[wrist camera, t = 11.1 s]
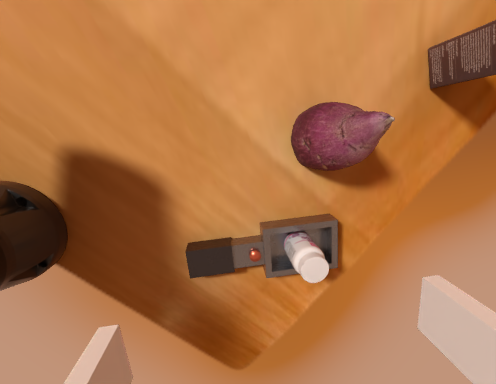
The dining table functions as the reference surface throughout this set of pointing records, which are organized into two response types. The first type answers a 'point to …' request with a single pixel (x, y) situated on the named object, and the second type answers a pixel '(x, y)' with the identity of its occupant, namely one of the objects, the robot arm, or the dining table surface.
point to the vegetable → (337, 135)
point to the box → (464, 57)
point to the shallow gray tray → (263, 248)
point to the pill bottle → (306, 257)
